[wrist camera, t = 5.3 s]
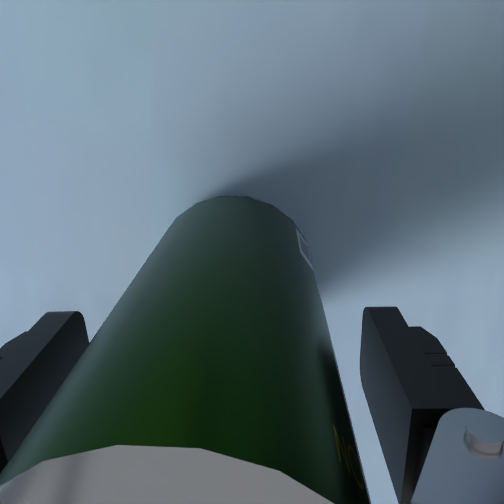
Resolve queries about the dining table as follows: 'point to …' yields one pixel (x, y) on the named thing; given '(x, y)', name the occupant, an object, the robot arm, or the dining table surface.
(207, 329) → the beer can
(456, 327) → the dining table surface
